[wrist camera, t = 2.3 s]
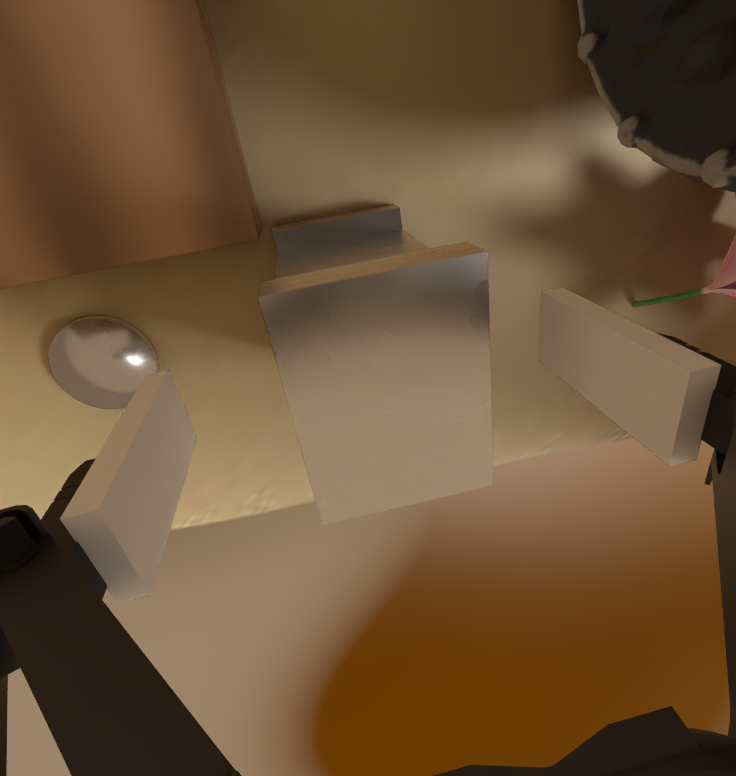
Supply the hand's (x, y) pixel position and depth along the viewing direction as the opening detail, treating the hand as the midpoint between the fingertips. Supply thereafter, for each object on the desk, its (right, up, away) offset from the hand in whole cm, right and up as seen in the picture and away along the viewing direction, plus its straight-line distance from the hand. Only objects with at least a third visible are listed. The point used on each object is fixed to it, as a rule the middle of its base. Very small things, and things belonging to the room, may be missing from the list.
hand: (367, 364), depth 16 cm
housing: (-1, +4, +8) cm, 9 cm away
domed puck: (-14, +1, +8) cm, 16 cm away
